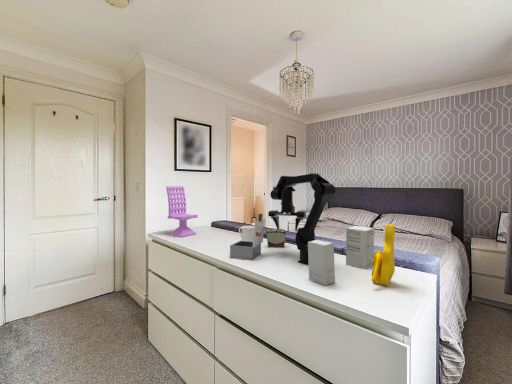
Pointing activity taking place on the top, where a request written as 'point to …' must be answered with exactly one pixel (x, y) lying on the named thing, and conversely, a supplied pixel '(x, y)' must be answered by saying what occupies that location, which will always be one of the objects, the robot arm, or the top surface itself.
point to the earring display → (182, 217)
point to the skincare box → (321, 261)
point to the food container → (276, 238)
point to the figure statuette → (384, 259)
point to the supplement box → (359, 246)
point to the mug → (247, 233)
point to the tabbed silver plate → (258, 231)
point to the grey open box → (244, 250)
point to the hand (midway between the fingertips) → (287, 230)
